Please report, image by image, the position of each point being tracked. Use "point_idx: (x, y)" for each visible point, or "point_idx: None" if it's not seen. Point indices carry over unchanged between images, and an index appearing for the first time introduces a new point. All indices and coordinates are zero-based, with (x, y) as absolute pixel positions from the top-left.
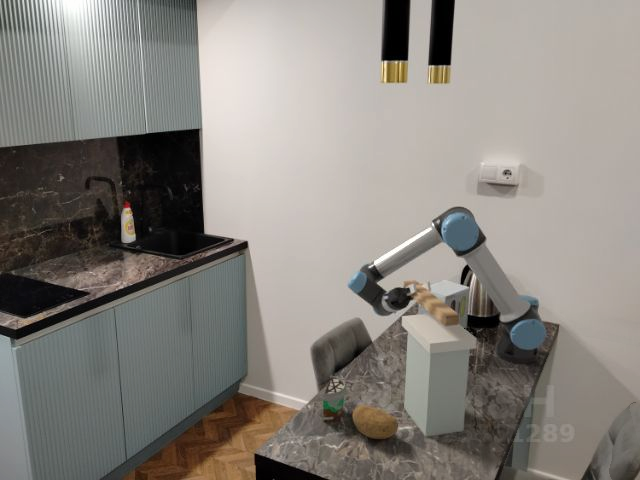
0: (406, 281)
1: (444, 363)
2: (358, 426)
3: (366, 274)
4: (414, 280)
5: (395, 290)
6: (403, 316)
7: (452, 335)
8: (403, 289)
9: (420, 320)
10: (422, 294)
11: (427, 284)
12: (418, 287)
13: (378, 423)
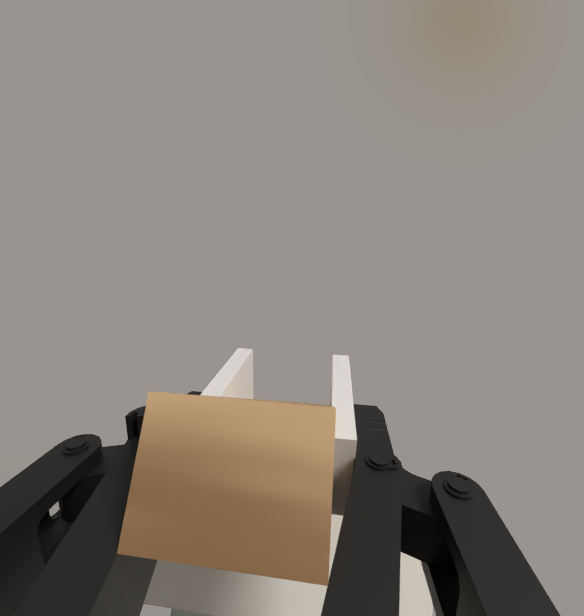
0: (300, 404)
1: None
2: None
3: None
4: (168, 393)
5: (484, 508)
6: (422, 568)
7: None
8: (390, 447)
9: (338, 526)
10: (316, 404)
11: (251, 363)
12: (277, 401)
13: None
